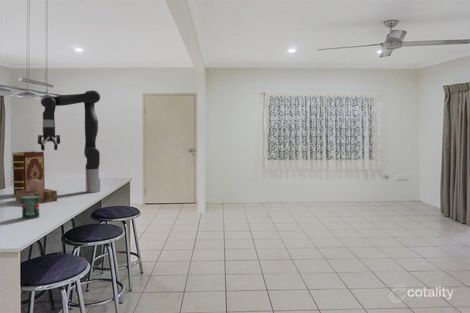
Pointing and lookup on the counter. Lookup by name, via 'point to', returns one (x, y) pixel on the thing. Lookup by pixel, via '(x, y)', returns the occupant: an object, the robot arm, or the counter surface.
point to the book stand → (48, 195)
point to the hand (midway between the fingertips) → (49, 150)
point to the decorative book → (27, 169)
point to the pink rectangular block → (37, 187)
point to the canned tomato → (30, 207)
